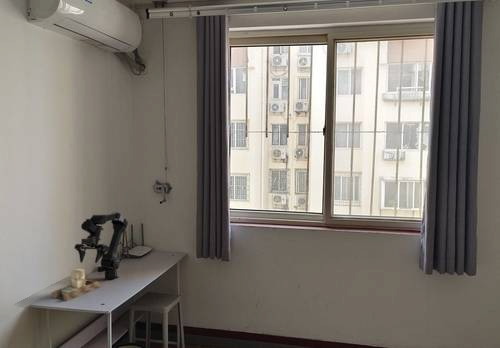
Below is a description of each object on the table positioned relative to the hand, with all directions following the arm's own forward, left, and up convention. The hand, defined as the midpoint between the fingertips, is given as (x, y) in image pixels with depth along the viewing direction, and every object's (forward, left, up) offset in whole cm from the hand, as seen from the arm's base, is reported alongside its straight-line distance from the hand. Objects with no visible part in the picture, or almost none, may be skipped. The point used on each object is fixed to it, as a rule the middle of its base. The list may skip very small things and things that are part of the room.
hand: (88, 262), depth 236 cm
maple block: (+3, -6, -13) cm, 15 cm away
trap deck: (+4, -6, -16) cm, 18 cm away
